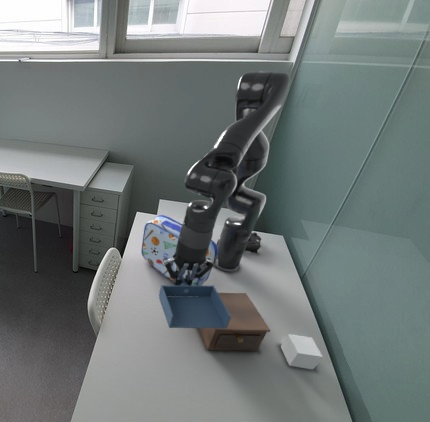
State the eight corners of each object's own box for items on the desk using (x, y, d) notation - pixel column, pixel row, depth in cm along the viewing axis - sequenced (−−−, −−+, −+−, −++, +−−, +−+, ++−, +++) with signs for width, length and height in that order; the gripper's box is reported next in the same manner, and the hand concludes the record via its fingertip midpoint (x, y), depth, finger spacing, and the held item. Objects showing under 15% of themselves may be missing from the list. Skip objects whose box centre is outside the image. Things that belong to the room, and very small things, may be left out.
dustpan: (226, 328, 76) (231, 316, 74) (169, 327, 77) (172, 316, 75) (197, 271, 94) (200, 261, 91) (150, 271, 94) (152, 261, 92)
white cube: (280, 346, 91) (288, 334, 87) (303, 350, 90) (311, 337, 86) (289, 365, 86) (297, 352, 82) (313, 369, 85) (323, 356, 81)
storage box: (190, 313, 102) (197, 292, 96) (236, 314, 101) (246, 292, 96) (208, 354, 89) (217, 332, 84) (260, 354, 89) (272, 333, 83)
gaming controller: (235, 225, 136) (262, 228, 131) (234, 236, 139) (260, 239, 134) (232, 241, 126) (261, 245, 121) (231, 253, 129) (259, 258, 123)
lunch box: (213, 286, 111) (230, 239, 100) (197, 300, 106) (213, 251, 95) (151, 249, 130) (160, 205, 118) (135, 259, 125) (142, 215, 113)
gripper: (215, 230, 81) (200, 277, 91) (163, 230, 82) (154, 277, 91) (228, 248, 75) (210, 296, 84) (171, 248, 76) (160, 296, 85)
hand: (181, 286), depth 88 cm, fingers closed on dustpan, 2 cm apart
